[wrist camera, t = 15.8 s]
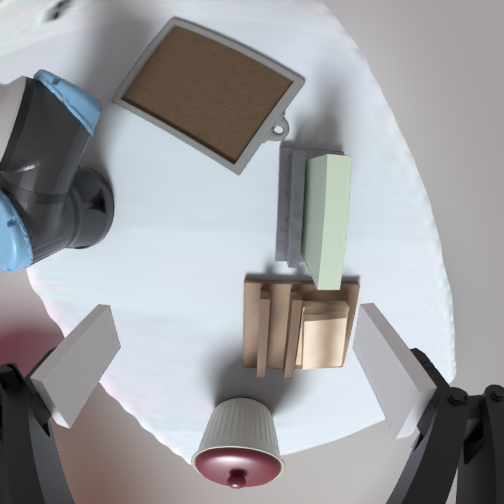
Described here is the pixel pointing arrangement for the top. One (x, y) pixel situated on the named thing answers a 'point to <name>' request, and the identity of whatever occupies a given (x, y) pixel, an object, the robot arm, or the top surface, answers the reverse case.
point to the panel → (325, 218)
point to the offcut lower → (317, 307)
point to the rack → (284, 320)
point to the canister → (239, 445)
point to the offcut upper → (323, 339)
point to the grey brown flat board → (209, 93)
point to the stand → (292, 202)
